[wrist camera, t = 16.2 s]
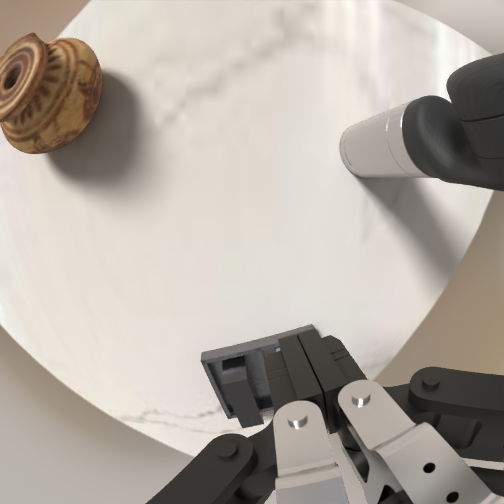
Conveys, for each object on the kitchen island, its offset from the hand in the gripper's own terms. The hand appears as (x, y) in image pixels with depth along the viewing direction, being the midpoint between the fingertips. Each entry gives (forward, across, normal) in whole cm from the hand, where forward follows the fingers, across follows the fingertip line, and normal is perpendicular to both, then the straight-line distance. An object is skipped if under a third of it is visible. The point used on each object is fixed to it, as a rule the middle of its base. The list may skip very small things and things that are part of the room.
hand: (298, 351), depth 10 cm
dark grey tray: (+32, +3, +27) cm, 42 cm away
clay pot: (+32, +24, -30) cm, 50 cm away
